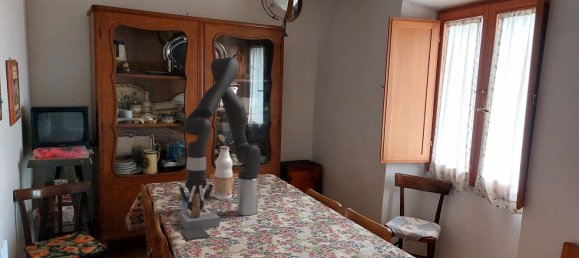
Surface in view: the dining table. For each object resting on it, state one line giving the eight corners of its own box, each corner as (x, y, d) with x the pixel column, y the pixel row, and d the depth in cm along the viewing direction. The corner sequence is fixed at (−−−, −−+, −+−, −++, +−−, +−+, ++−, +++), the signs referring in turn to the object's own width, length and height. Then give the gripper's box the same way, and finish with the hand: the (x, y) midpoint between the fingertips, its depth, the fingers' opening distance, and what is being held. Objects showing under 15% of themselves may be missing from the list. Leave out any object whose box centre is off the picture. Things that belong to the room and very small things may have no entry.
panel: (209, 216, 176) (209, 204, 175) (219, 226, 163) (219, 213, 163) (178, 220, 168) (178, 208, 168) (186, 231, 156) (187, 218, 156)
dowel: (198, 215, 155) (198, 191, 154) (200, 218, 152) (201, 193, 151) (189, 216, 153) (190, 192, 152) (191, 219, 150) (192, 194, 149)
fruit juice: (219, 201, 198) (221, 148, 195) (211, 196, 206) (212, 145, 203) (235, 198, 204) (236, 147, 201) (226, 194, 212) (227, 144, 208)
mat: (202, 229, 159) (202, 228, 159) (209, 236, 152) (209, 235, 152) (181, 232, 155) (181, 231, 155) (187, 240, 147) (187, 239, 147)
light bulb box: (181, 214, 176) (181, 191, 175) (181, 209, 183) (181, 187, 181) (204, 213, 179) (205, 191, 178) (204, 208, 185) (204, 187, 184)
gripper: (210, 164, 157) (209, 205, 159) (176, 166, 150) (175, 208, 152) (216, 168, 151) (215, 210, 152) (180, 170, 143) (179, 214, 145)
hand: (195, 209), depth 152 cm, fingers closed on dowel, 3 cm apart
